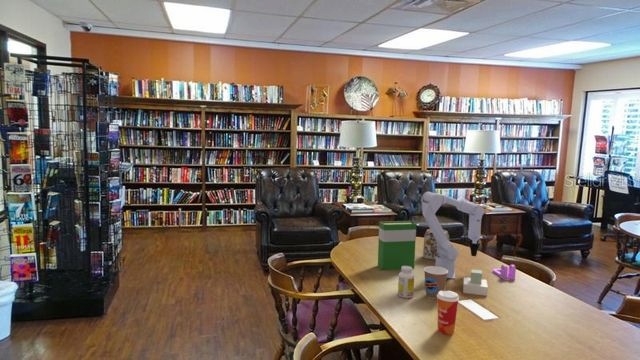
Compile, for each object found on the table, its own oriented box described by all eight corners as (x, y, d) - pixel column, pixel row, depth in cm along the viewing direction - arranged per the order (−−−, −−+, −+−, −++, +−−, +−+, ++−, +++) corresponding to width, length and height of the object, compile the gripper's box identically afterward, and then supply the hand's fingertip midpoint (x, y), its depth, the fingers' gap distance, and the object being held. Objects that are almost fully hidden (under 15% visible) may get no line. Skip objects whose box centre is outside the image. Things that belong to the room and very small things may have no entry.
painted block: (463, 292, 188) (463, 284, 187) (463, 285, 197) (463, 277, 197) (487, 296, 184) (487, 287, 184) (486, 288, 194) (486, 279, 193)
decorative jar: (443, 262, 232) (444, 230, 230) (422, 258, 238) (424, 227, 236) (448, 256, 242) (450, 226, 240) (428, 253, 249) (430, 223, 246)
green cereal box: (408, 264, 227) (410, 220, 225) (414, 268, 220) (416, 223, 217) (377, 265, 224) (379, 221, 221) (382, 270, 217) (384, 224, 214)
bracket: (514, 279, 207) (515, 266, 206) (504, 279, 206) (505, 266, 205) (500, 271, 219) (501, 258, 219) (490, 271, 219) (491, 258, 218)
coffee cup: (417, 295, 184) (418, 269, 182) (431, 290, 190) (432, 264, 189) (437, 303, 176) (439, 275, 174) (451, 297, 182) (453, 270, 181)
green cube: (470, 283, 189) (471, 272, 188) (470, 279, 193) (471, 269, 192) (481, 284, 187) (482, 273, 187) (480, 281, 192) (481, 270, 191)
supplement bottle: (414, 294, 185) (415, 266, 184) (412, 299, 179) (413, 270, 177) (399, 291, 187) (400, 264, 186) (396, 297, 181) (398, 268, 180)
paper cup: (431, 326, 155) (433, 289, 153) (452, 325, 155) (454, 289, 154) (439, 336, 147) (441, 298, 145) (460, 336, 147) (463, 298, 146)
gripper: (483, 231, 203) (482, 258, 204) (482, 225, 216) (481, 250, 218) (468, 230, 205) (467, 257, 207) (468, 224, 219) (467, 249, 220)
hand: (473, 253), depth 212 cm, fingers open, 7 cm apart
